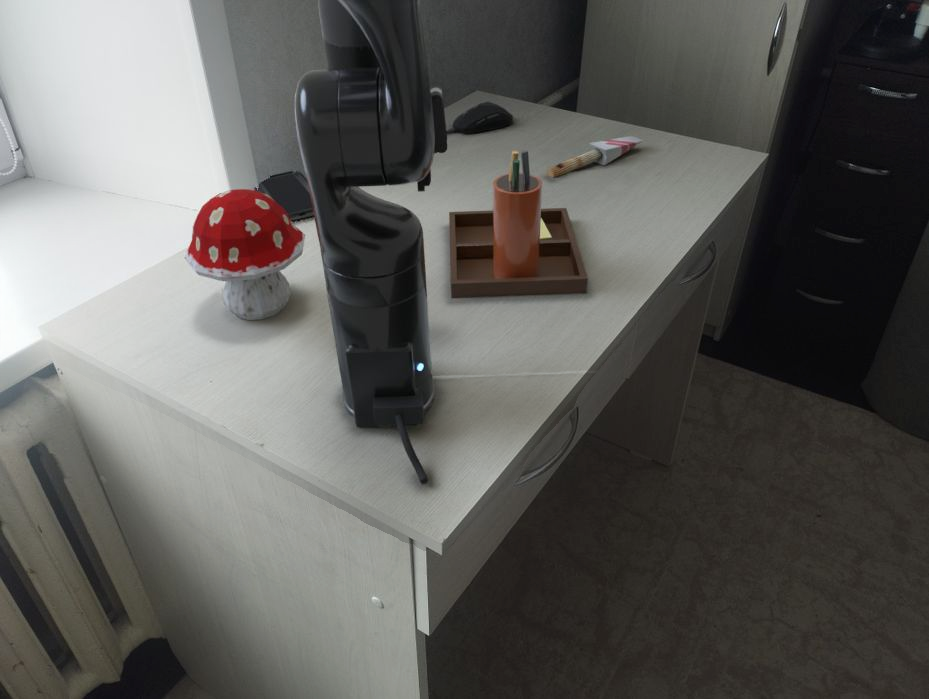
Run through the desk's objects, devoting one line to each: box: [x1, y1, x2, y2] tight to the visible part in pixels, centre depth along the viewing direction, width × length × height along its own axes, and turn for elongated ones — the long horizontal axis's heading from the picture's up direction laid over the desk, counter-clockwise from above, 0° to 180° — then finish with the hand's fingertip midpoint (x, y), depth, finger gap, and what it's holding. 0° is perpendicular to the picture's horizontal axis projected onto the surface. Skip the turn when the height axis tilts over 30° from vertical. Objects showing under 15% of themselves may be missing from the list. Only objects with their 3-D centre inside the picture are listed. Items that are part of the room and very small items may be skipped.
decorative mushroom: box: [184, 188, 306, 321], centre depth 88 cm, size 14×14×15 cm
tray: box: [448, 207, 588, 299], centre depth 99 cm, size 19×17×2 cm
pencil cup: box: [492, 149, 543, 279], centre depth 91 cm, size 6×6×16 cm
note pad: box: [540, 218, 552, 240], centre depth 103 cm, size 6×6×2 cm
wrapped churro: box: [546, 135, 645, 178], centre depth 124 cm, size 4×3×20 cm
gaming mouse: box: [446, 101, 514, 134], centre depth 138 cm, size 6×15×4 cm, turn 117°
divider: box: [456, 239, 570, 259], centre depth 99 cm, size 1×15×2 cm, turn 91°
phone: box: [253, 170, 314, 222], centre depth 116 cm, size 8×1×15 cm
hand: (380, 189), depth 78 cm, fingers open, 8 cm apart
